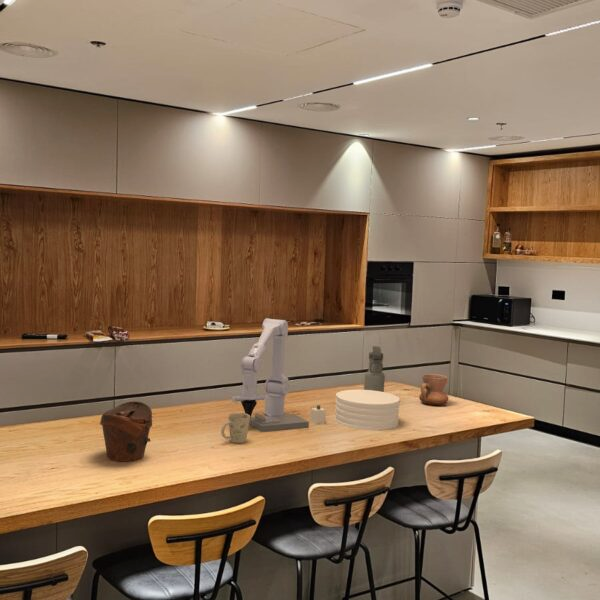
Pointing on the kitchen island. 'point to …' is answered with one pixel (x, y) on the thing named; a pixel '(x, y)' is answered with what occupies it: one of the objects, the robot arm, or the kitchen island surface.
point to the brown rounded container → (126, 430)
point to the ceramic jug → (433, 389)
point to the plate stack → (367, 409)
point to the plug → (318, 415)
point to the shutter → (266, 419)
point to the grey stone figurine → (375, 371)
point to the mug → (237, 427)
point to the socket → (280, 423)
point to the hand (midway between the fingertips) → (248, 418)
